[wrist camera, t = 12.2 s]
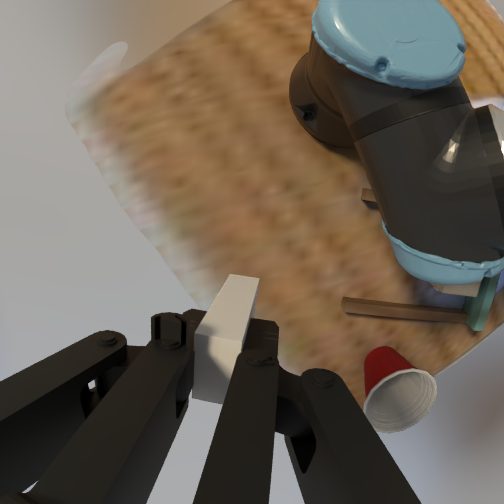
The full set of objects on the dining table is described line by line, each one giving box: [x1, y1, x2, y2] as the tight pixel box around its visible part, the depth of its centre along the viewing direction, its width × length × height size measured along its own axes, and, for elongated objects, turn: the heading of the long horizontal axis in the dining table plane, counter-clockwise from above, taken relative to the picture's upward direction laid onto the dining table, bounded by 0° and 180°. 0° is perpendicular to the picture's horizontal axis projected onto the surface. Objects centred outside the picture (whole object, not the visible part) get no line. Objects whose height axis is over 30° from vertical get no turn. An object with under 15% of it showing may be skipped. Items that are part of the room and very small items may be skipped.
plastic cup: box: [363, 346, 437, 433], centre depth 38 cm, size 11×11×12 cm
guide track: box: [341, 188, 500, 331], centre depth 37 cm, size 17×24×5 cm
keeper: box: [430, 281, 481, 297], centre depth 37 cm, size 7×7×4 cm
